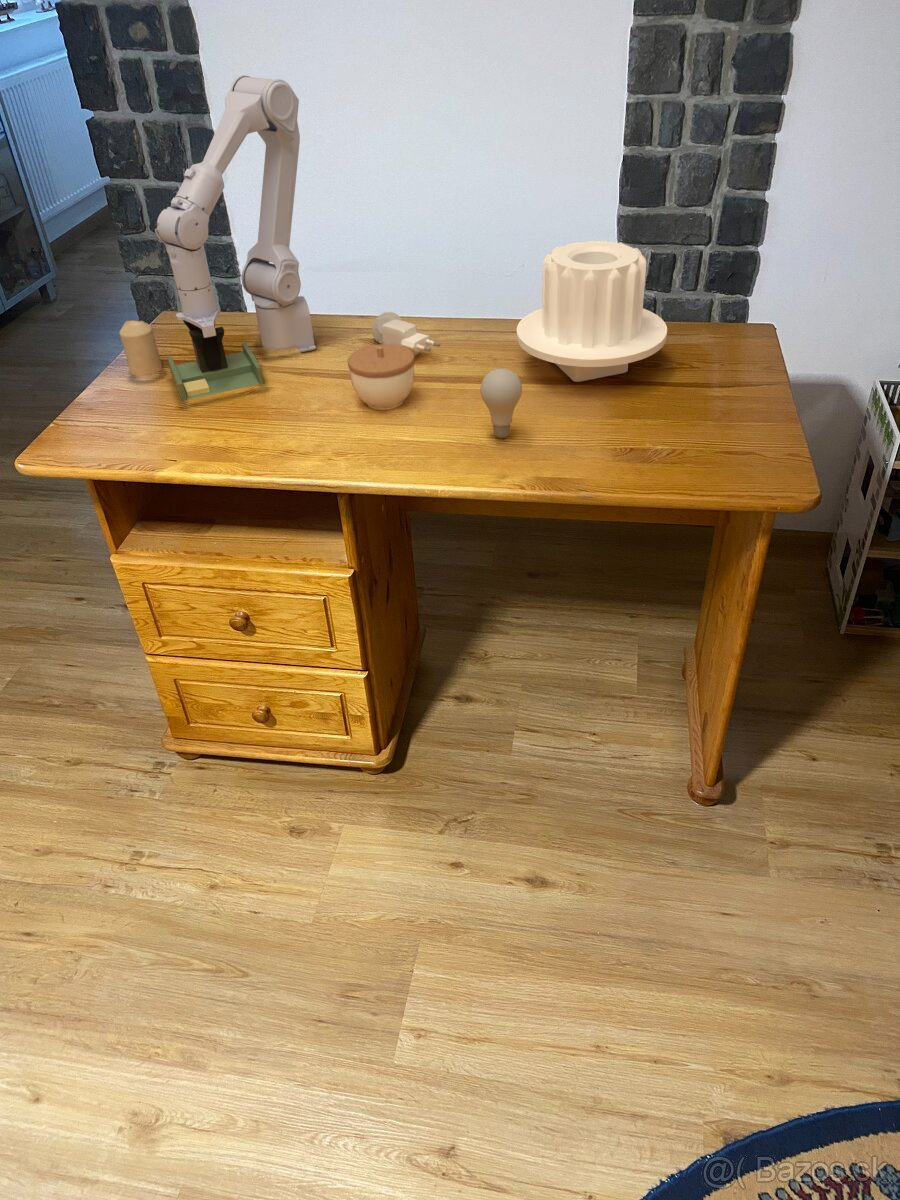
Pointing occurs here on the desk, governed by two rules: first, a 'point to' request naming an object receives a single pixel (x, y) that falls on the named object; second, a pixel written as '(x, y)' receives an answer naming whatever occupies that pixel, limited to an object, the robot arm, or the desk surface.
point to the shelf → (220, 374)
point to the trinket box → (382, 375)
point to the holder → (202, 363)
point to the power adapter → (406, 336)
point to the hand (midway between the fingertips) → (211, 362)
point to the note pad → (196, 387)
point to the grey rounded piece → (379, 323)
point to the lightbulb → (501, 398)
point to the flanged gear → (592, 311)
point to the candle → (140, 348)
